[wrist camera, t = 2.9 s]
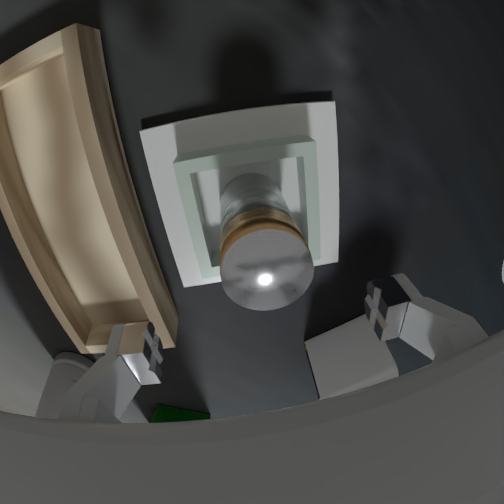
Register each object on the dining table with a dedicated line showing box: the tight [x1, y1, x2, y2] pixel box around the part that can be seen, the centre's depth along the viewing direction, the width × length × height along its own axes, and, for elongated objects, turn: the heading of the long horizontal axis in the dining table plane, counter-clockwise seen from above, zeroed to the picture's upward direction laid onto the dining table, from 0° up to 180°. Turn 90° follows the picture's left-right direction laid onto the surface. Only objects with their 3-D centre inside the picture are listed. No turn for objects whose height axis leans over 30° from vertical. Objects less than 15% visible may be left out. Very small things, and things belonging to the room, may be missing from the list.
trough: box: [0, 23, 179, 354], centre depth 18 cm, size 9×23×4 cm, turn 8°
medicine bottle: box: [304, 314, 399, 400], centre depth 25 cm, size 7×7×12 cm
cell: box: [220, 173, 314, 311], centre depth 16 cm, size 4×4×8 cm
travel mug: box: [35, 352, 94, 420], centre depth 20 cm, size 6×7×20 cm
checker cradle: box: [139, 101, 339, 287], centre depth 19 cm, size 12×12×3 cm
